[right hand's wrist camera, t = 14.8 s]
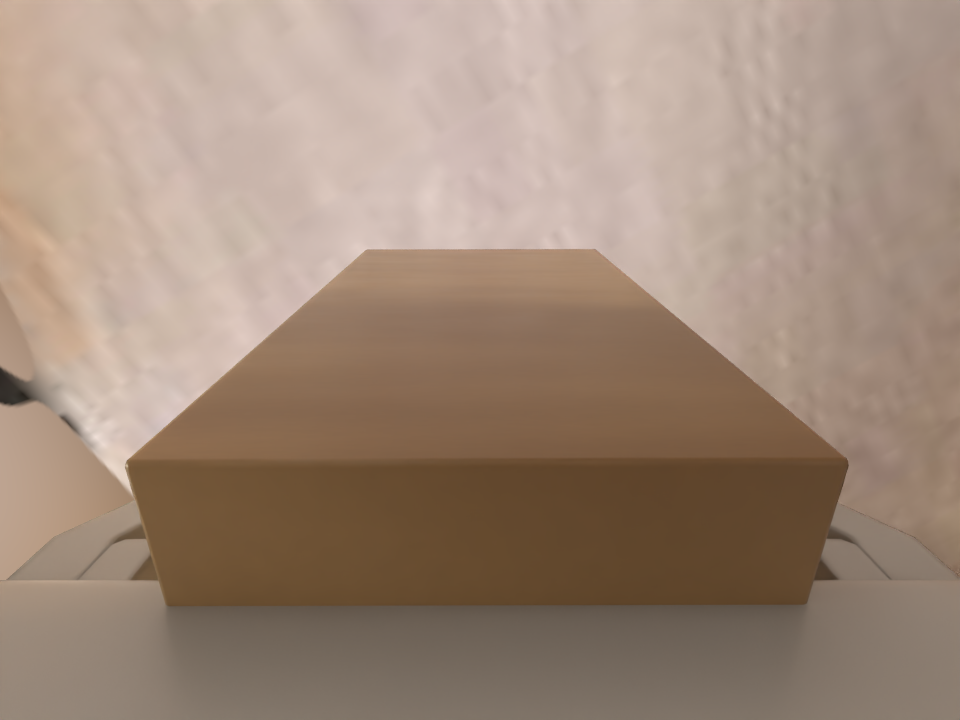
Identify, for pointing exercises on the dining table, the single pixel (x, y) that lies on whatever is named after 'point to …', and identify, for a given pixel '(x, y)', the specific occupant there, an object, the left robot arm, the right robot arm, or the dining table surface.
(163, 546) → the bar
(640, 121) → the dining table surface
